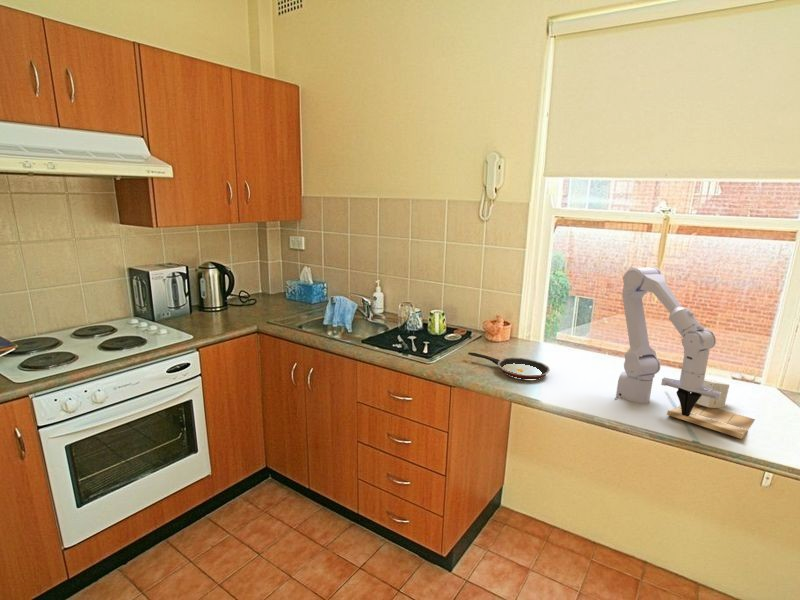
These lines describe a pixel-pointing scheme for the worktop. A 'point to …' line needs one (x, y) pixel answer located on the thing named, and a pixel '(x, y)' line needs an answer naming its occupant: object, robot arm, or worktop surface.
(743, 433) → the plank
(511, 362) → the frying pan
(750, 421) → the laid board
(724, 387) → the small box
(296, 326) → the worktop surface
